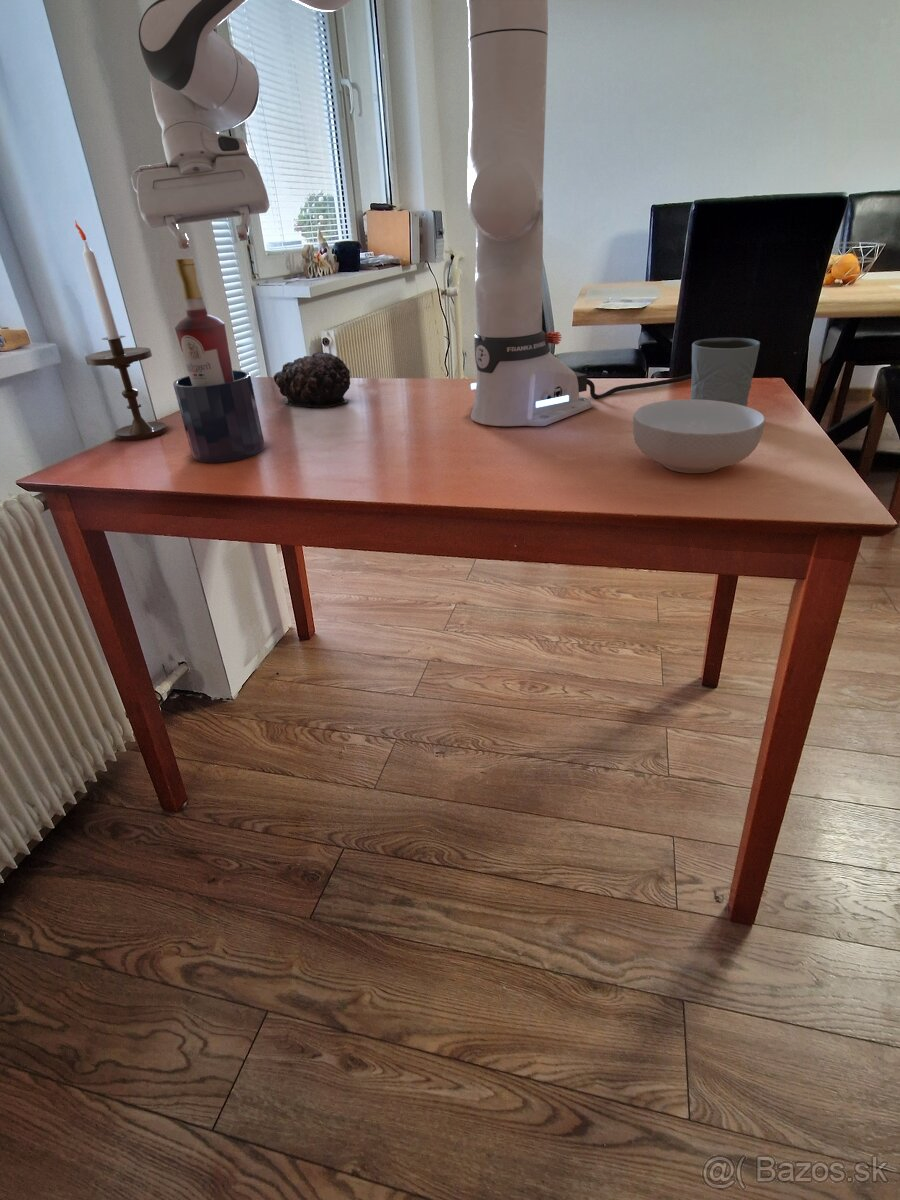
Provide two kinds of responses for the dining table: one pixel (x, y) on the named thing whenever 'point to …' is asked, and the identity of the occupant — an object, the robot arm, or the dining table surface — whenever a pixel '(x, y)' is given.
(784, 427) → the dining table surface
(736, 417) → the cereal bowl
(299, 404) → the pine cone
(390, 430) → the dining table surface
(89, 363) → the candlestick
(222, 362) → the liquor
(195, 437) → the dark blue plant pot
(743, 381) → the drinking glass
